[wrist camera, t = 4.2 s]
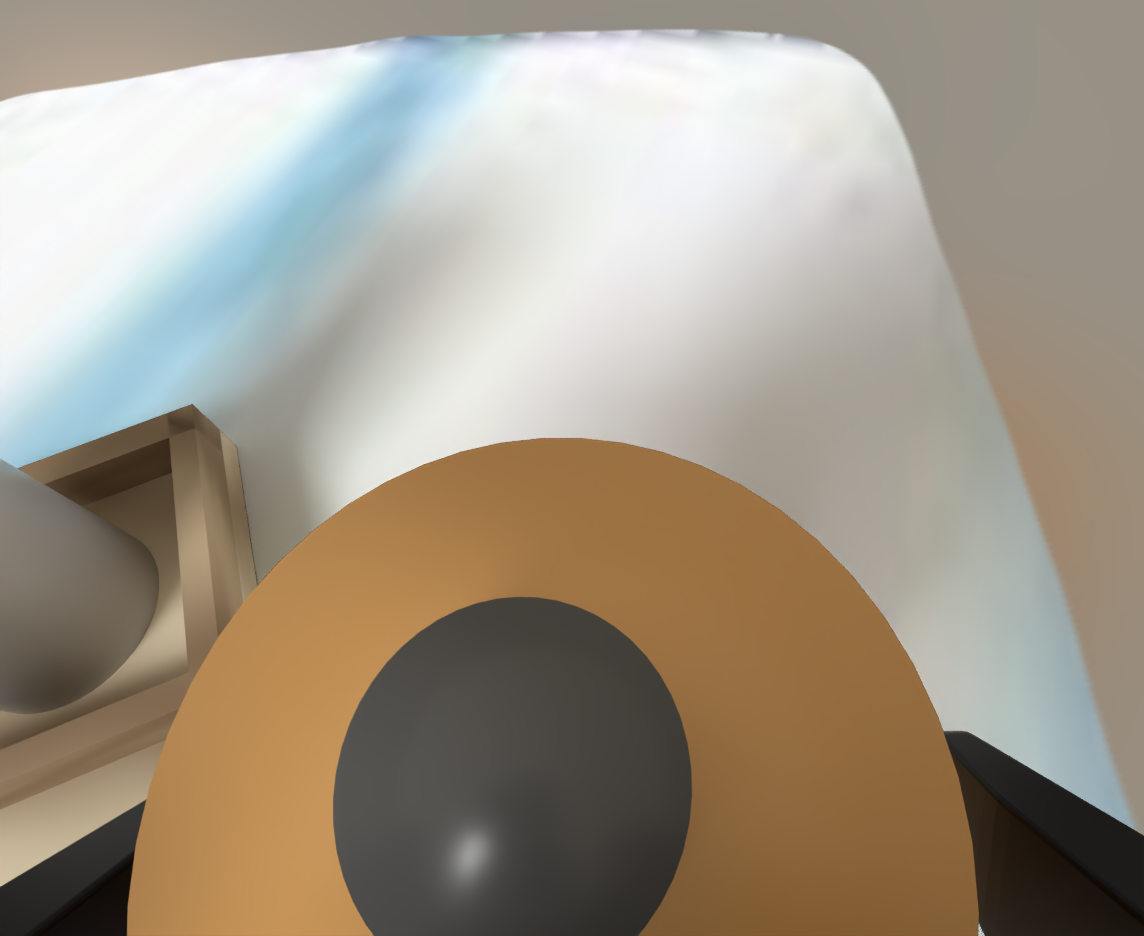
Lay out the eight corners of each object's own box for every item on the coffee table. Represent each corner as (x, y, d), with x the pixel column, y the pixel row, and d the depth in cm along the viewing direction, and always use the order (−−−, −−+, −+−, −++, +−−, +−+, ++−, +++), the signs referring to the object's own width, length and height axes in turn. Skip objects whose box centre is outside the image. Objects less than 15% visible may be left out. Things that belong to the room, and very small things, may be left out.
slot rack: (335, 1108, 13) (275, 1159, 11) (-167, 1358, 12) (-339, 1468, 10) (236, 446, 22) (192, 404, 20) (-60, 557, 21) (-139, 525, 19)
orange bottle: (669, 1022, 14) (822, 2354, 2) (462, 871, 15) (-190, 983, 3) (766, 775, 16) (1141, 576, 4) (574, 667, 17) (415, 297, 6)
